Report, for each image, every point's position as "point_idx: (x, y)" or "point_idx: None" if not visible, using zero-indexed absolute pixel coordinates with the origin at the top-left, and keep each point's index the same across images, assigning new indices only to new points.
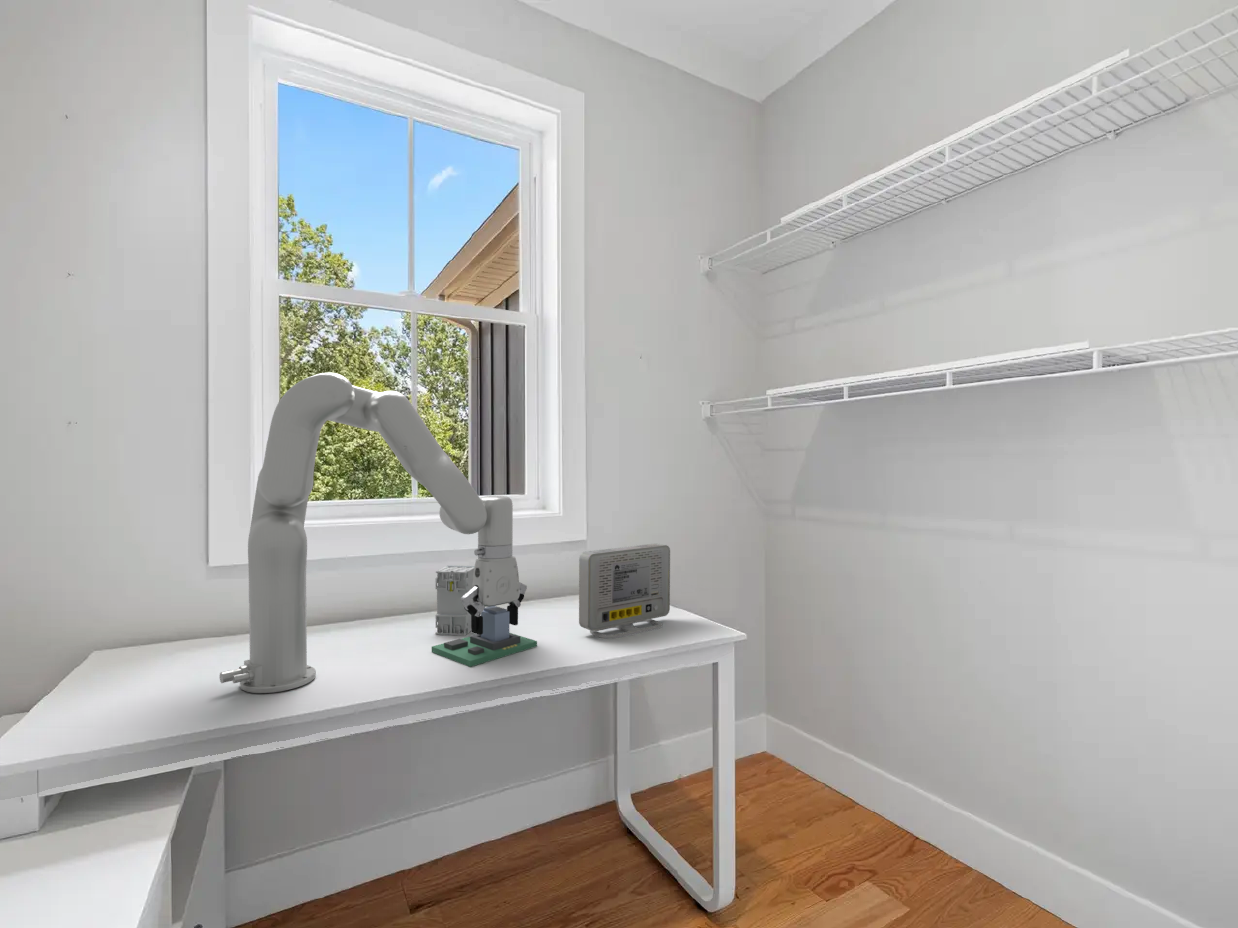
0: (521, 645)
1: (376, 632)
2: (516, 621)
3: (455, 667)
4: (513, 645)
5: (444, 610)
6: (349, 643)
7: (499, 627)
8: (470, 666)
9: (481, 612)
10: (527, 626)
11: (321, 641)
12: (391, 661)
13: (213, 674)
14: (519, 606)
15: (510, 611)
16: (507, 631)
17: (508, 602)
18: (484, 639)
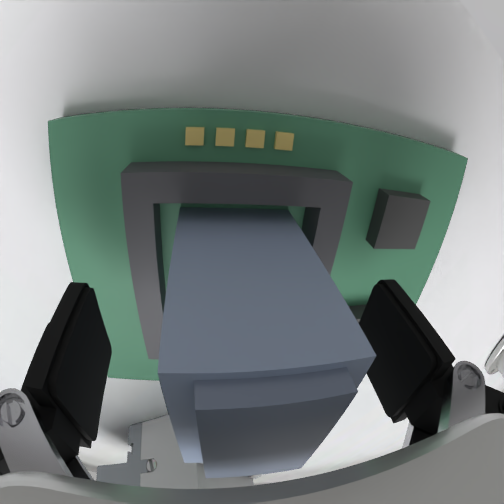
0: (163, 112)
1: (311, 456)
2: (75, 296)
3: (465, 190)
4: (204, 142)
5: (242, 484)
6: (377, 431)
7: (280, 270)
8: (451, 151)
9: (454, 389)
10: (3, 344)
11: (379, 442)
12: (451, 336)
13: (489, 383)
14: (7, 390)
15: (84, 396)
16: (192, 243)
17: (176, 491)
18: None
